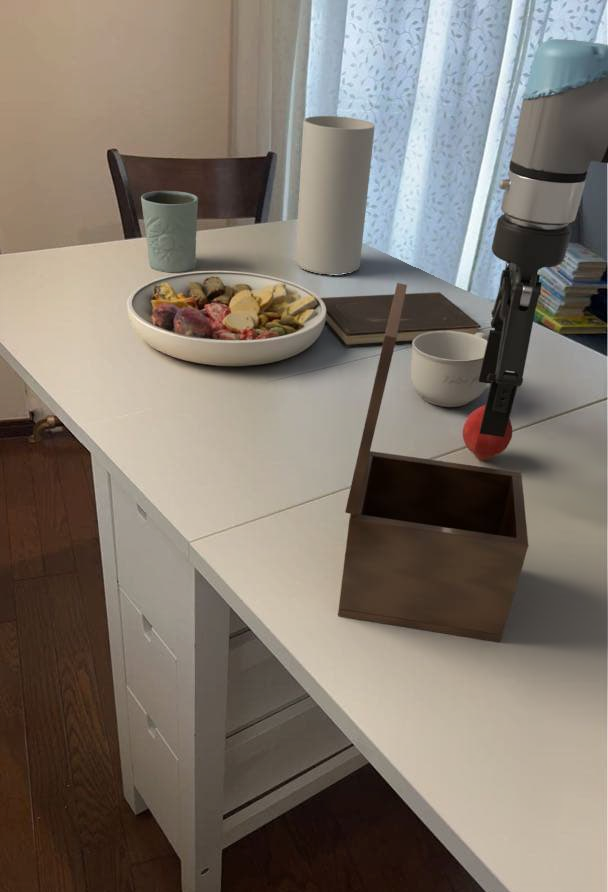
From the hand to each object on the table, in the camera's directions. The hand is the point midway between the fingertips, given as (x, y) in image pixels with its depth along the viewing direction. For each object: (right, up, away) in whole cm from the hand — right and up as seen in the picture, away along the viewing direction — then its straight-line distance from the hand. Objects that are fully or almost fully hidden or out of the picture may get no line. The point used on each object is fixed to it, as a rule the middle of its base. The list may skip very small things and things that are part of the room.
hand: (490, 406), depth 94 cm
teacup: (-1, +5, +18) cm, 19 cm away
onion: (0, -6, +4) cm, 7 cm away
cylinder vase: (-17, +37, +61) cm, 73 cm away
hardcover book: (-7, +20, +38) cm, 44 cm away
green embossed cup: (-47, +36, +55) cm, 81 cm away
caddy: (-11, -20, -17) cm, 28 cm away
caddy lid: (-16, -4, -28) cm, 32 cm away
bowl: (-34, +16, +30) cm, 48 cm away
